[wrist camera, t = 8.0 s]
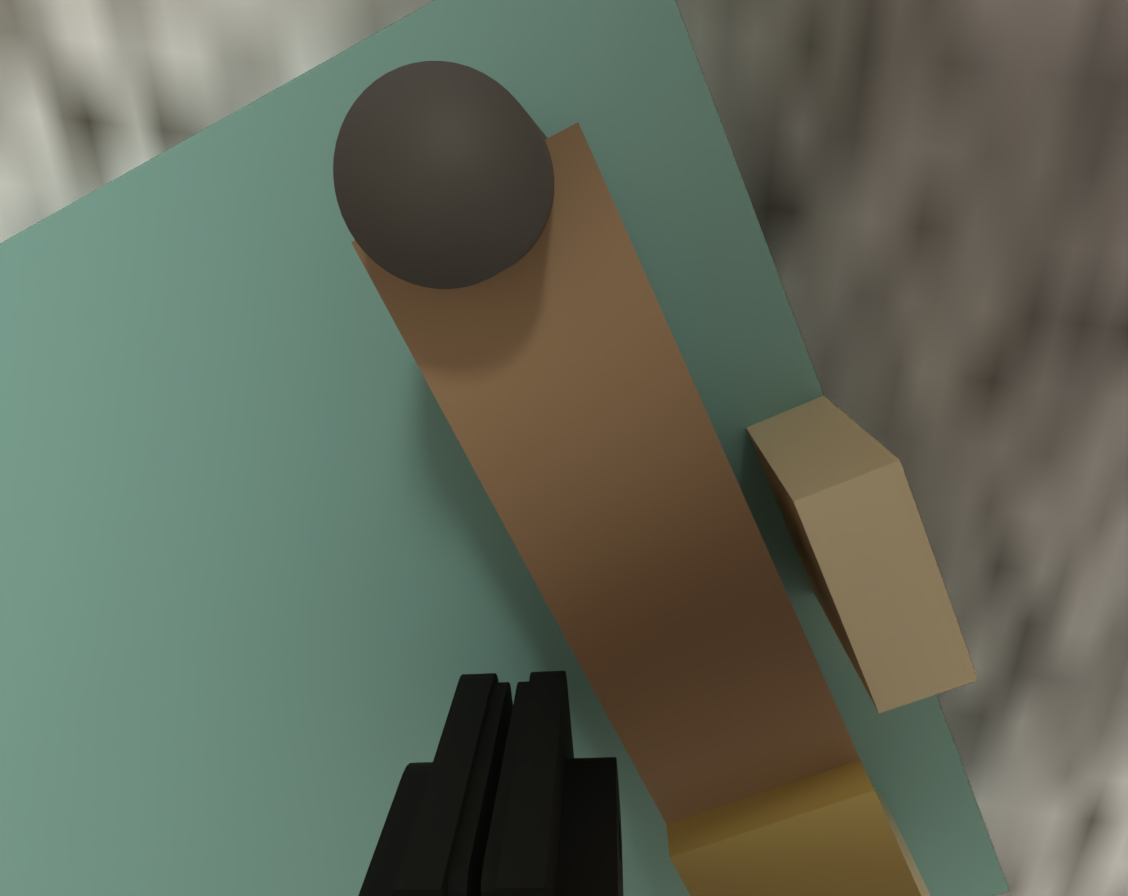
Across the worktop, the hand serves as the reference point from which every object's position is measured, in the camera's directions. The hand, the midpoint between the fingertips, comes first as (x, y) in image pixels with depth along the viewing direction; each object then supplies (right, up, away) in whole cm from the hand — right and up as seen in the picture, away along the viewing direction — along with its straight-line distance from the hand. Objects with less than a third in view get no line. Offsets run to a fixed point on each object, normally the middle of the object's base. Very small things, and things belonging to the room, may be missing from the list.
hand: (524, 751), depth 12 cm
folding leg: (+2, +4, -1) cm, 5 cm away
